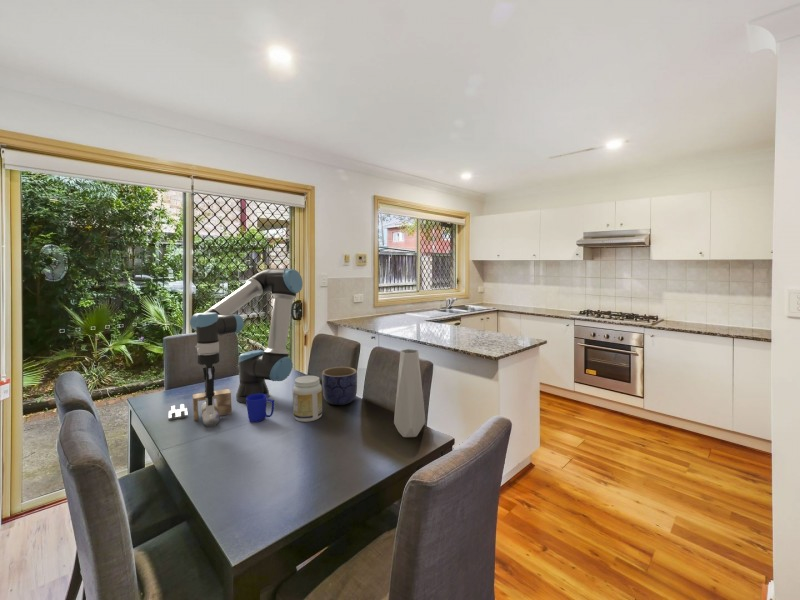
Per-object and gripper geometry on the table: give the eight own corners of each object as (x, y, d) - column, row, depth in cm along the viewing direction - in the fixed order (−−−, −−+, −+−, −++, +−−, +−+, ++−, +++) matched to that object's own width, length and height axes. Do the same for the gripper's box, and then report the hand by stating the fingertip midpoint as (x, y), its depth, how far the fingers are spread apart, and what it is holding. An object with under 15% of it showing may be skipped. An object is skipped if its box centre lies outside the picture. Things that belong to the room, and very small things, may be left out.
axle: (214, 413, 167) (216, 400, 167) (218, 426, 154) (220, 411, 154) (199, 414, 164) (201, 400, 163) (202, 427, 151) (204, 412, 151)
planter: (364, 399, 183) (364, 369, 182) (341, 410, 169) (341, 378, 168) (338, 393, 192) (338, 364, 191) (315, 403, 178) (314, 372, 177)
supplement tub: (312, 409, 171) (312, 372, 169) (327, 417, 162) (327, 378, 161) (288, 416, 162) (287, 378, 161) (302, 425, 154) (301, 385, 152)
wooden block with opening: (229, 408, 171) (229, 388, 170) (231, 413, 166) (230, 392, 165) (193, 415, 163) (192, 394, 162) (194, 420, 158) (193, 398, 157)
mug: (269, 425, 154) (268, 401, 153) (242, 422, 156) (241, 399, 155) (279, 417, 162) (278, 394, 161) (254, 415, 164) (253, 392, 163)
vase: (388, 429, 150) (388, 349, 147) (414, 425, 154) (415, 346, 151) (400, 443, 139) (400, 356, 136) (428, 437, 143) (429, 353, 140)
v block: (186, 410, 169) (186, 403, 169) (187, 416, 162) (187, 410, 161) (168, 413, 166) (168, 406, 165) (168, 420, 158) (168, 413, 158)
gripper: (196, 350, 148) (198, 408, 150) (198, 357, 137) (200, 420, 139) (217, 348, 152) (218, 405, 154) (220, 355, 141) (222, 416, 143)
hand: (210, 412), depth 146 cm, fingers closed
